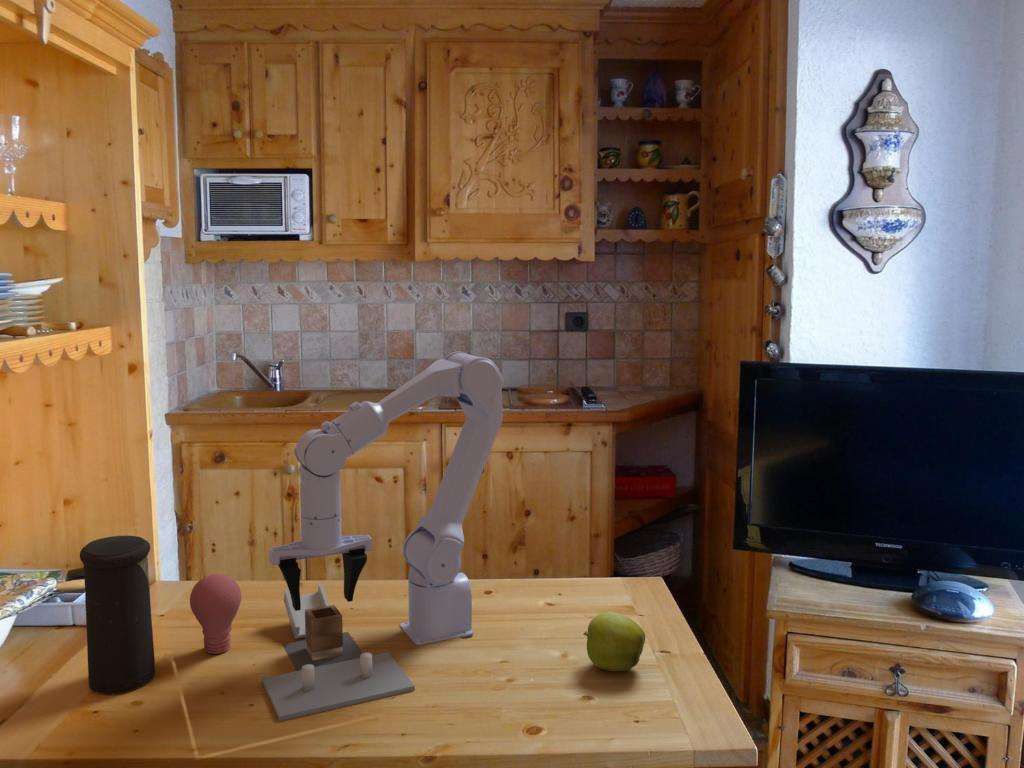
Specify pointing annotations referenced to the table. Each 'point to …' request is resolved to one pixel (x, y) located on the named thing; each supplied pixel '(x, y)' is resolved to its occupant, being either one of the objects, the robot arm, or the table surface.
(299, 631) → the feeder chute
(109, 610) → the container
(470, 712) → the table surface
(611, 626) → the apple
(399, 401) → the robot arm
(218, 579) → the light bulb
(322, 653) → the sleeve
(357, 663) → the pin board
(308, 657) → the mat
